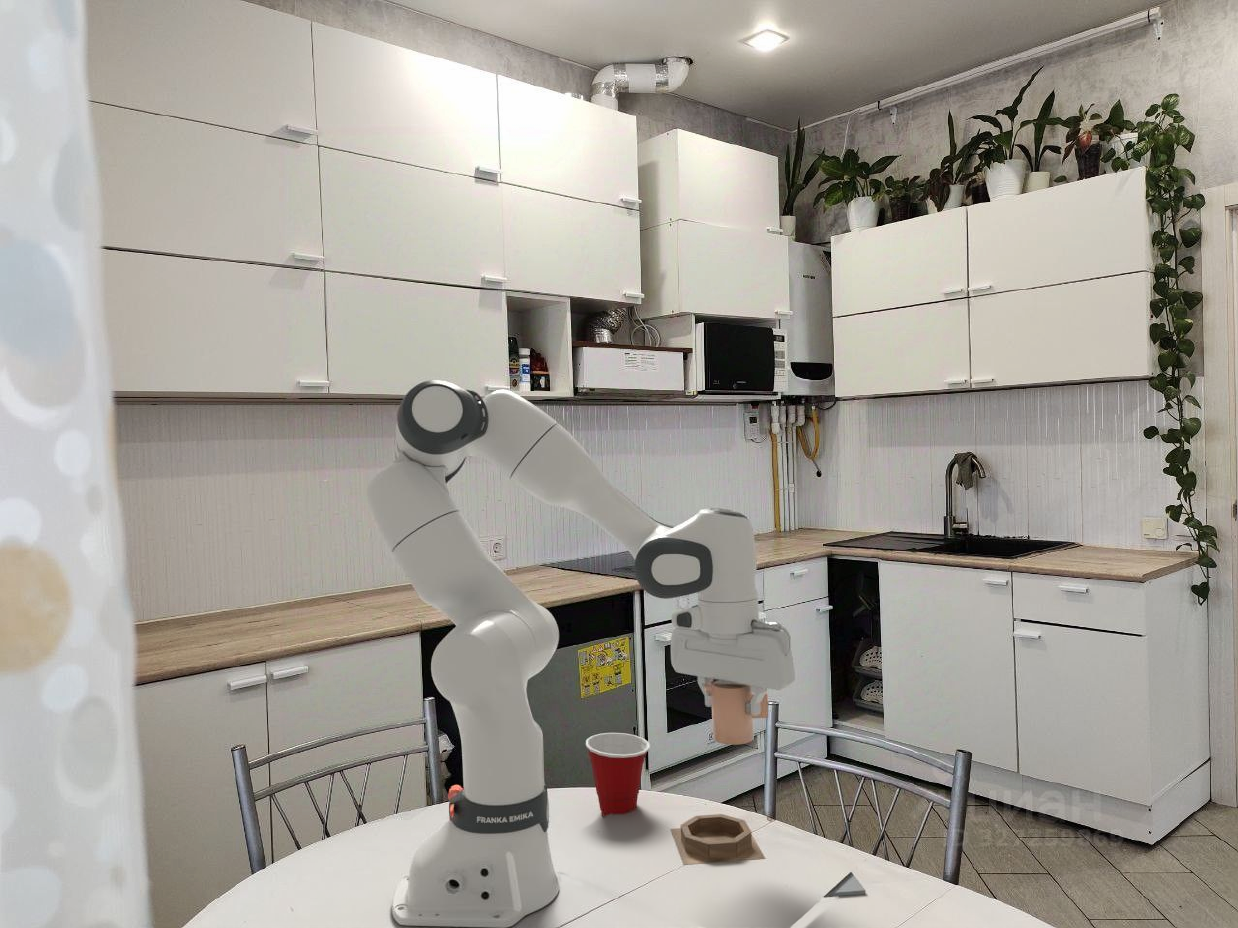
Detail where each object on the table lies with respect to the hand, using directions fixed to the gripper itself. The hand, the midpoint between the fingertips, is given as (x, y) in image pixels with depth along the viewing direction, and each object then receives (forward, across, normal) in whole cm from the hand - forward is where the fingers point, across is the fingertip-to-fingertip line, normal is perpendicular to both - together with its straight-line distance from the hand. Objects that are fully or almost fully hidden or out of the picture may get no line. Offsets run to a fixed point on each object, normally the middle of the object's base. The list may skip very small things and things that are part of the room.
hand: (732, 710), depth 130 cm
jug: (+4, 0, 0) cm, 4 cm away
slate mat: (+22, -13, -1) cm, 25 cm away
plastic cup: (+21, +24, 0) cm, 32 cm away
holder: (+22, +4, +1) cm, 22 cm away
